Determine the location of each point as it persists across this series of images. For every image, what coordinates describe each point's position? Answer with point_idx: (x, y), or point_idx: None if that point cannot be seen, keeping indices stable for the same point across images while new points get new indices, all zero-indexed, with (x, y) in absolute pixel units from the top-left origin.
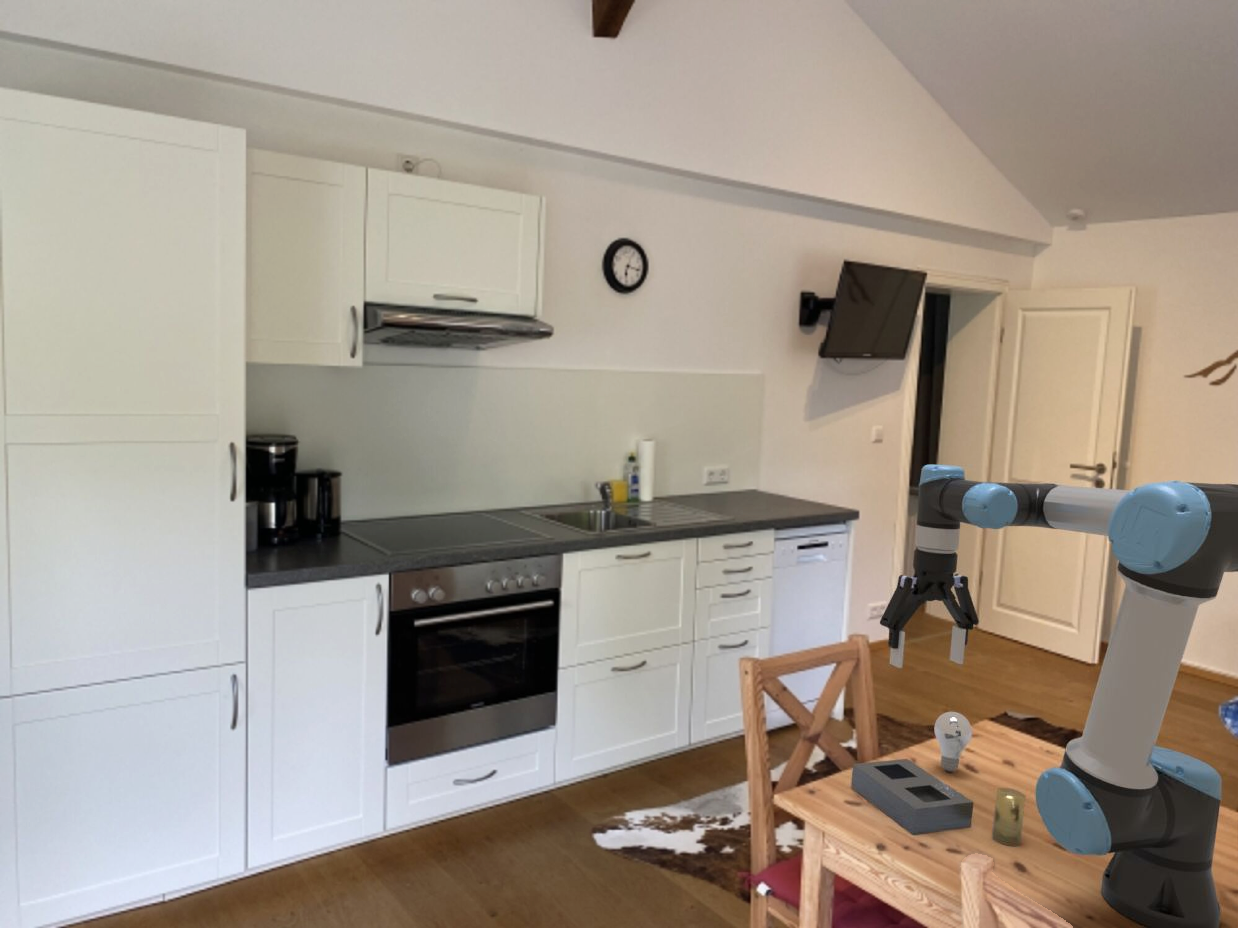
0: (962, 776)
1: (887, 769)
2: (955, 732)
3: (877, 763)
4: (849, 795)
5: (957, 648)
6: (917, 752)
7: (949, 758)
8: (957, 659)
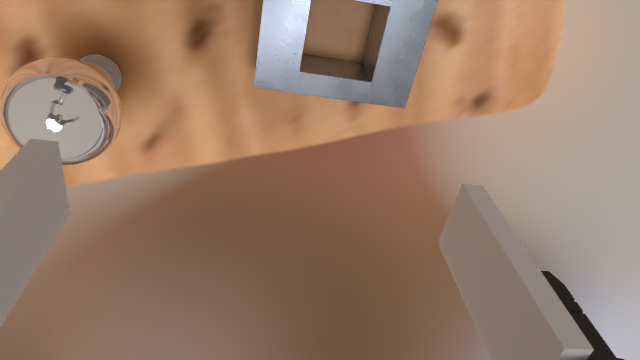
0: (86, 36)
1: (329, 72)
2: (86, 79)
3: (348, 91)
4: (425, 59)
5: (22, 223)
6: (113, 167)
7: (107, 71)
8: (53, 172)
